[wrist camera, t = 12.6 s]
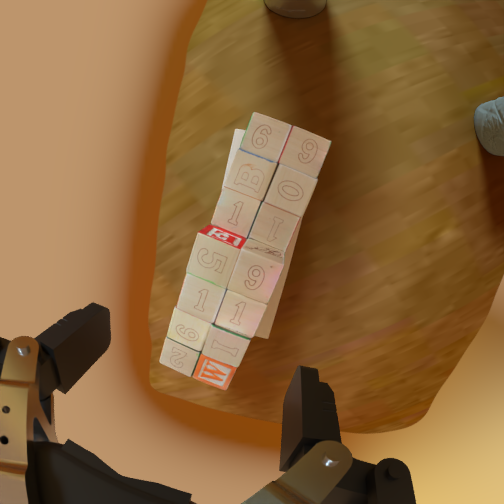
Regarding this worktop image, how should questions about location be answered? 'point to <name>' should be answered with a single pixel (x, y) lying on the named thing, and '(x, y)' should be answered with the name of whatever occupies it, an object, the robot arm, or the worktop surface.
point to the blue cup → (491, 126)
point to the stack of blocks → (242, 250)
